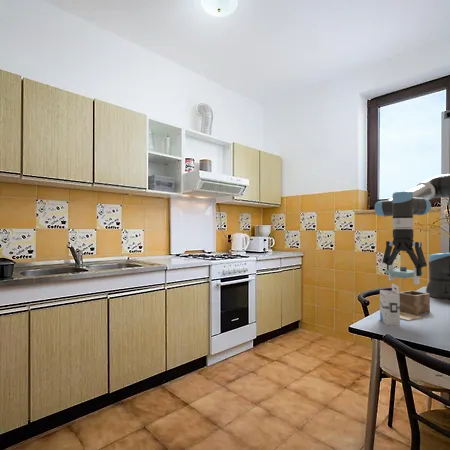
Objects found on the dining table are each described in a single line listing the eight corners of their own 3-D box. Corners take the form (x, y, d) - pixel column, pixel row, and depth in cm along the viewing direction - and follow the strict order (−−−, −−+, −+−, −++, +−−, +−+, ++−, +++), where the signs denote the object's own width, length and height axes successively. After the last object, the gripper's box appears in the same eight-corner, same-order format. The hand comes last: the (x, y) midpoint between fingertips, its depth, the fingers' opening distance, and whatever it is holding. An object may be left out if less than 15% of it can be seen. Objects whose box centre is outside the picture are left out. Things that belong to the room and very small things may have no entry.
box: (411, 307, 142) (411, 290, 142) (429, 311, 135) (429, 293, 135) (398, 310, 137) (397, 292, 138) (416, 315, 130) (415, 296, 130)
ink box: (379, 318, 125) (379, 282, 126) (392, 319, 124) (392, 282, 125) (386, 325, 117) (385, 286, 117) (400, 326, 116) (399, 286, 116)
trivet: (400, 312, 134) (400, 311, 134) (421, 317, 126) (421, 316, 126) (387, 315, 130) (387, 314, 130) (408, 320, 122) (408, 319, 122)
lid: (399, 274, 135) (399, 265, 135) (423, 277, 126) (422, 267, 126) (384, 275, 131) (384, 266, 131) (408, 279, 122) (407, 269, 122)
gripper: (372, 228, 137) (373, 279, 137) (425, 228, 117) (426, 287, 117) (383, 228, 141) (384, 277, 140) (437, 228, 121) (437, 285, 120)
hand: (403, 282), depth 128 cm, fingers closed on lid, 10 cm apart
